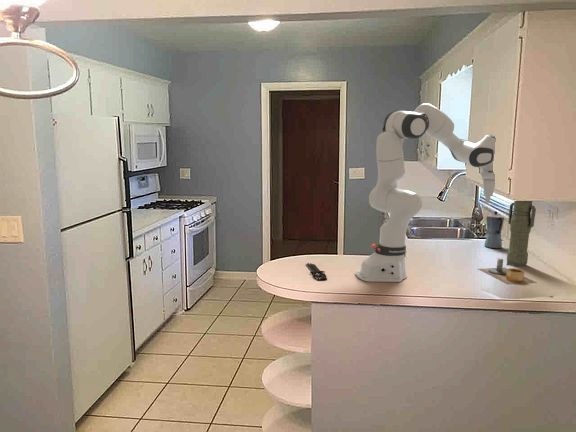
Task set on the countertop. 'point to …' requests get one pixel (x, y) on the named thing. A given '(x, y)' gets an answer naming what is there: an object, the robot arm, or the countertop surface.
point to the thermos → (520, 232)
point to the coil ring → (515, 275)
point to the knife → (317, 272)
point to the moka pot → (494, 231)
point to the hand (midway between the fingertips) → (487, 198)
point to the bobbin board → (502, 273)
